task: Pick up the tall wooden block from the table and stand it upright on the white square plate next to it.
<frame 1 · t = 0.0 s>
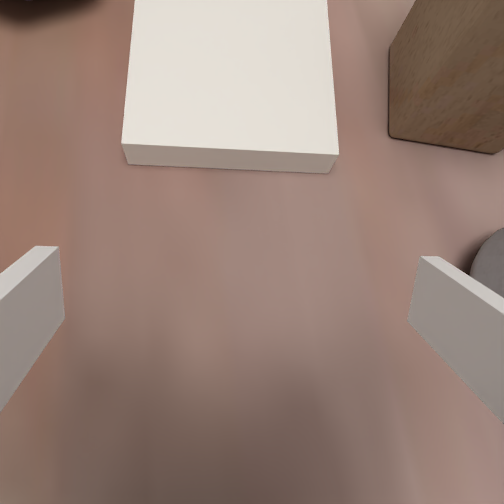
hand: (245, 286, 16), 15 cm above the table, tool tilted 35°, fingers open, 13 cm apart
wooden block: (439, 101, 39), on the table
white square plate: (231, 85, 36), on the table
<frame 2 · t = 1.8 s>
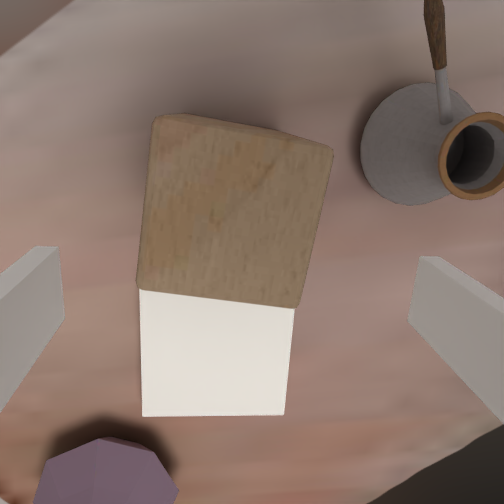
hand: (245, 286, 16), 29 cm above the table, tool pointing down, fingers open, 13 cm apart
wooden block: (223, 172, 43), on the table
flask: (115, 465, 53), on the table
coffee pot: (387, 99, 42), on the table
white square plate: (216, 340, 49), on the table
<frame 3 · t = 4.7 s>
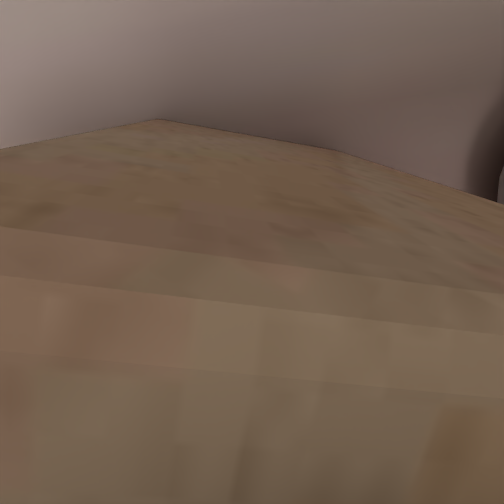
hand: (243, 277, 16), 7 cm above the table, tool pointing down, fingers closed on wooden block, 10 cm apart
wooden block: (233, 228, 23), on the table, touching gripper
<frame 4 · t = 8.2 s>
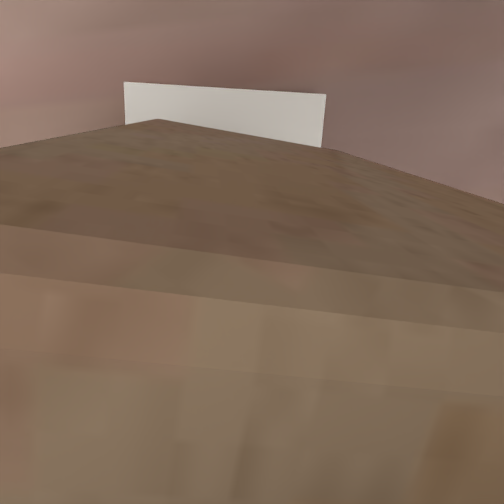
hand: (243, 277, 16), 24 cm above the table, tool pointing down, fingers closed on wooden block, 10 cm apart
wooden block: (233, 228, 23), point 17 cm above the table, touching gripper
white square plate: (223, 183, 39), on the table
when the fingers open (11 cm above the table, at t = 11.6 s): wooden block stays where it is, resting on white square plate.
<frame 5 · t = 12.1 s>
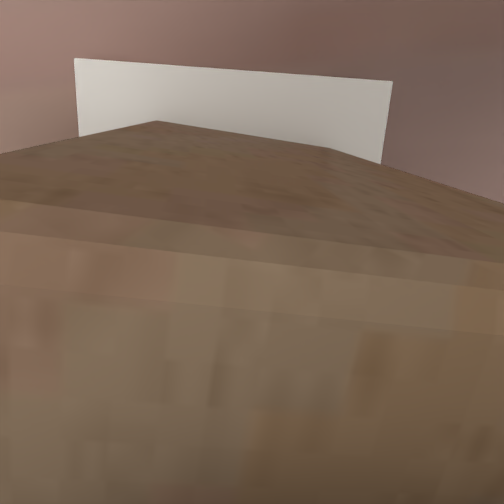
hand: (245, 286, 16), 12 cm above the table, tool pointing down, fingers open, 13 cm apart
wooden block: (231, 224, 24), point 3 cm above the table, touching white square plate
white square plate: (230, 212, 27), on the table
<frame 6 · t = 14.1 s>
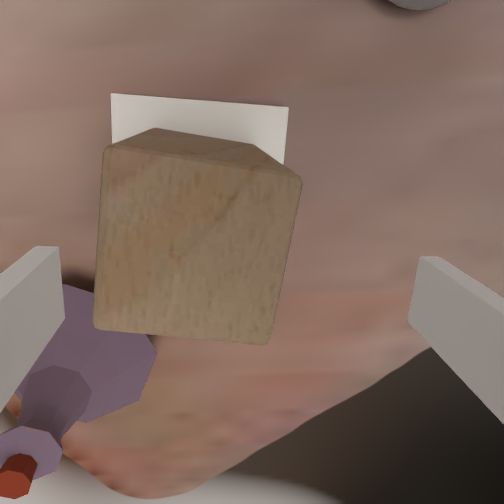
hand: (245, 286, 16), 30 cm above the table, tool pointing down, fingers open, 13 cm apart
wooden block: (198, 188, 41), point 3 cm above the table, touching white square plate
flask: (87, 335, 48), on the table
white square plate: (199, 183, 44), on the table
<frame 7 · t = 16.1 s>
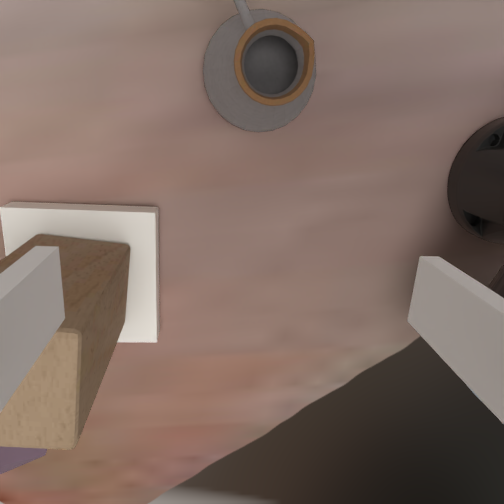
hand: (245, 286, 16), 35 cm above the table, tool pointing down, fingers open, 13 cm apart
wooden block: (83, 279, 48), point 3 cm above the table, touching white square plate
flask: (3, 396, 55), on the table
coffee pot: (234, 30, 44), on the table
white square plate: (90, 270, 51), on the table
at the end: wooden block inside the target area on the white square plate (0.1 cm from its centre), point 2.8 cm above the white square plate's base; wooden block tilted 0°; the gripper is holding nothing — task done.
